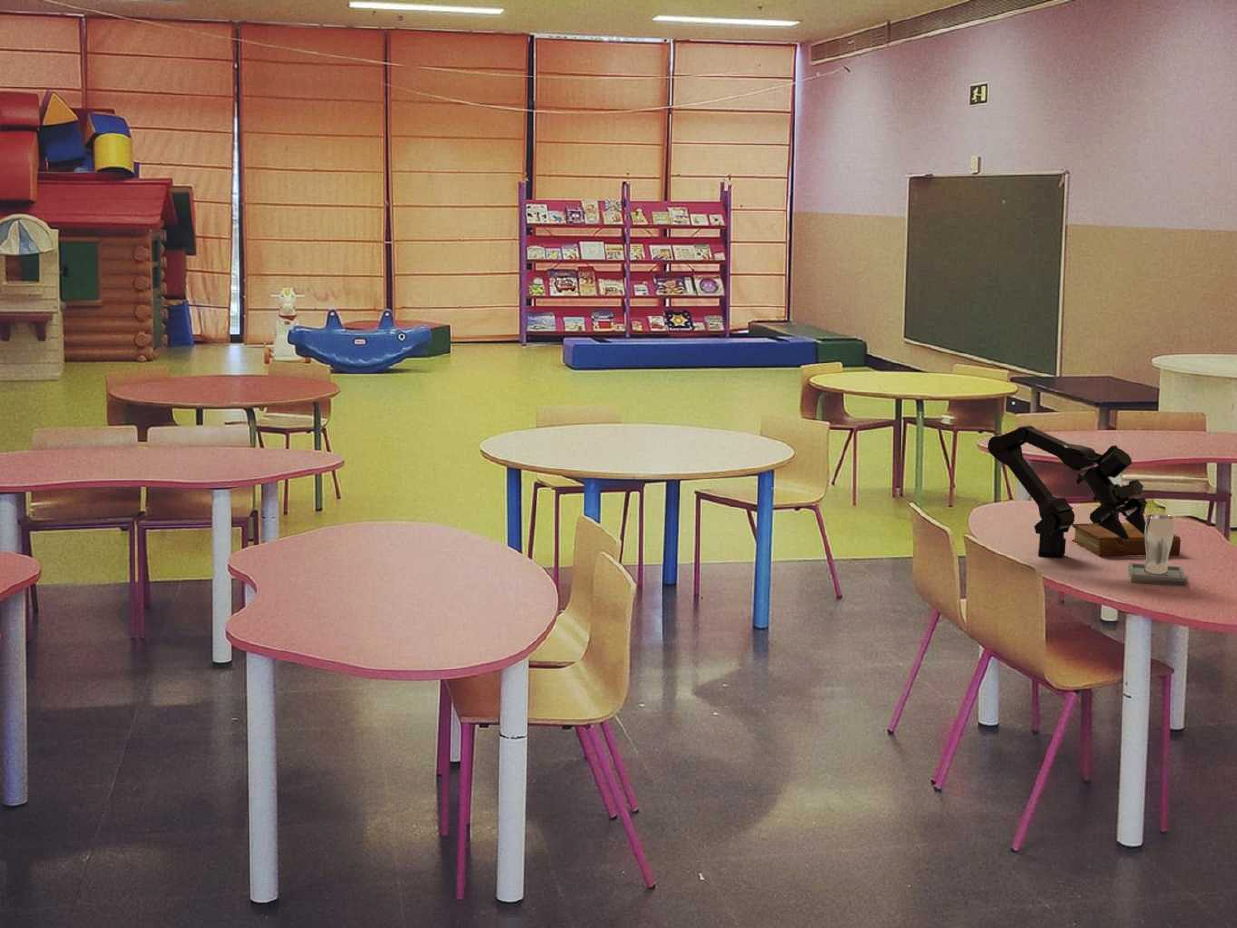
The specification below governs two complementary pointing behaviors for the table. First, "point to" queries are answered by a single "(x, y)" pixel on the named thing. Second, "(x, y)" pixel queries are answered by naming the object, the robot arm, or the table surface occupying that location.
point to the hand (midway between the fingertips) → (1137, 536)
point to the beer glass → (1158, 543)
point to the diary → (1115, 541)
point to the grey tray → (1173, 577)
